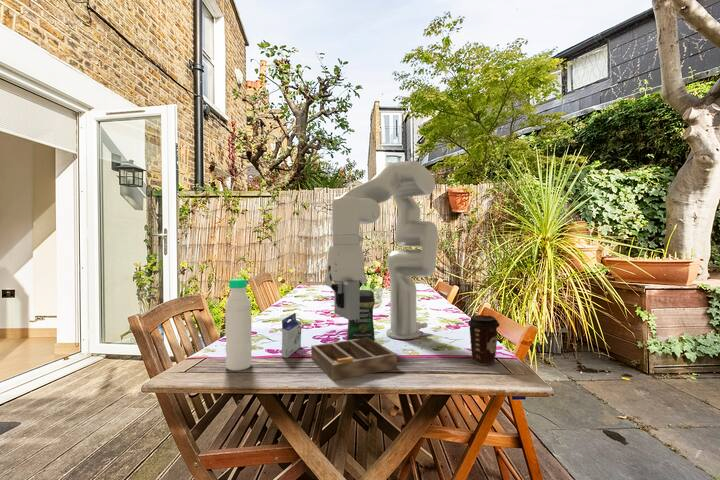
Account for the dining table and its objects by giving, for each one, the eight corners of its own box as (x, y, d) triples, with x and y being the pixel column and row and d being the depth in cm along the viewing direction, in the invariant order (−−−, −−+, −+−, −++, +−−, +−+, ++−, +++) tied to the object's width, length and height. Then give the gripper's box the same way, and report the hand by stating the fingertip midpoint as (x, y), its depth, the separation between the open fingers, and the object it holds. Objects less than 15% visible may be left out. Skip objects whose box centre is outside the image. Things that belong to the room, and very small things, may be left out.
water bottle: (237, 373, 98) (236, 281, 98) (220, 368, 102) (219, 280, 101) (257, 365, 104) (256, 278, 104) (240, 360, 108) (239, 277, 107)
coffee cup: (499, 358, 108) (499, 315, 108) (500, 368, 101) (500, 321, 100) (468, 355, 111) (468, 313, 111) (467, 364, 103) (467, 319, 103)
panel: (344, 312, 107) (344, 278, 106) (359, 318, 98) (359, 282, 98) (334, 313, 105) (334, 278, 105) (349, 320, 96) (349, 282, 96)
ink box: (288, 358, 110) (288, 320, 110) (281, 357, 110) (280, 320, 110) (302, 346, 121) (301, 312, 121) (295, 346, 122) (295, 312, 121)
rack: (367, 349, 117) (367, 334, 117) (396, 368, 101) (396, 350, 101) (311, 358, 109) (311, 342, 109) (333, 380, 93) (333, 361, 93)
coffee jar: (347, 348, 119) (346, 292, 118) (346, 341, 127) (345, 288, 126) (376, 347, 119) (376, 291, 119) (373, 340, 127) (373, 288, 127)
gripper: (365, 240, 108) (365, 302, 108) (313, 241, 101) (314, 307, 101) (378, 241, 102) (378, 306, 102) (323, 241, 94) (324, 312, 94)
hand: (346, 306), depth 101 cm, fingers closed on panel, 3 cm apart
